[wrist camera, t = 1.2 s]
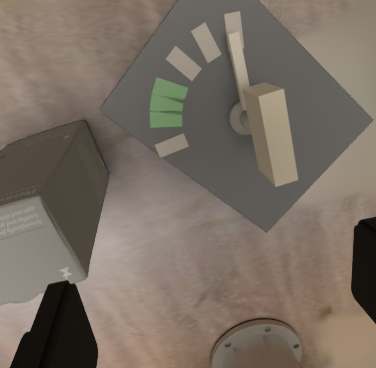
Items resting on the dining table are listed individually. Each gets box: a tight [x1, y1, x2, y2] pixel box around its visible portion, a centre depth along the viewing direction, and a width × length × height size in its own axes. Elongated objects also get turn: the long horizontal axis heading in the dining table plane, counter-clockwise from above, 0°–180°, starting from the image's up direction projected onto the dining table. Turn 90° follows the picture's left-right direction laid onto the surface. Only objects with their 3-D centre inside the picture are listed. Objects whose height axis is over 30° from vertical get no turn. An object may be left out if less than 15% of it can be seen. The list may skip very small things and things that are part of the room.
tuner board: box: [99, 0, 373, 232], centre depth 33 cm, size 22×16×1 cm
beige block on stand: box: [226, 31, 298, 187], centre depth 28 cm, size 11×3×9 cm, turn 16°
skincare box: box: [0, 120, 109, 305], centre depth 26 cm, size 8×7×16 cm
